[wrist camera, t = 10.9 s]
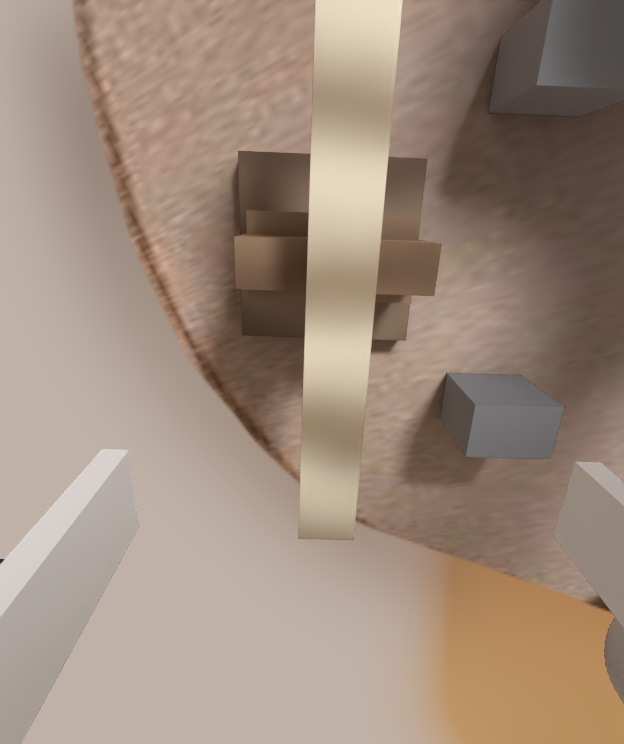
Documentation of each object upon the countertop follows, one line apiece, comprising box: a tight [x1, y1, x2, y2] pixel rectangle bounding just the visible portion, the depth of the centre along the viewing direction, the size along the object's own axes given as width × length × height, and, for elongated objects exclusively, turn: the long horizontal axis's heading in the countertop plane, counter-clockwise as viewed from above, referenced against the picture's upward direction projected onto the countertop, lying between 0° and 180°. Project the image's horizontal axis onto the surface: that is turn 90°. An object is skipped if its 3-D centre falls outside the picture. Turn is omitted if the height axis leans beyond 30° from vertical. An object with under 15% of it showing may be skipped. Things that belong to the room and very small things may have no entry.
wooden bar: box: [298, 0, 403, 540], centre depth 19 cm, size 28×3×3 cm, turn 178°
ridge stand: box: [234, 151, 441, 340], centre depth 25 cm, size 12×12×10 cm
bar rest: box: [440, 0, 624, 459], centre depth 27 cm, size 26×6×6 cm, turn 178°
